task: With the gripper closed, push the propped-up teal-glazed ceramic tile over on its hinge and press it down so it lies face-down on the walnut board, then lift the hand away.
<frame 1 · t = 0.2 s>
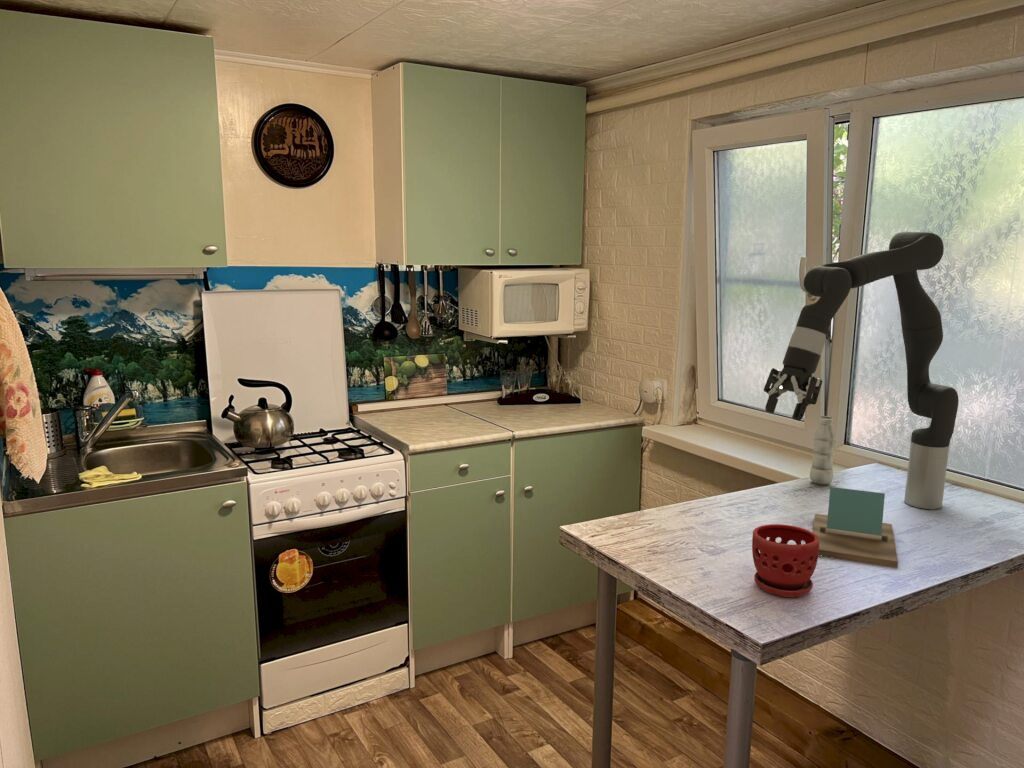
hand: (782, 416, 182), 31 cm above the table, tool tilted 20°, fingers open, 8 cm apart
plastic bottle: (820, 484, 230), on the table
tile: (855, 510, 187), point 7 cm above the table, hinge at 75.0°
board: (852, 541, 187), on the table
plant pot: (781, 587, 164), on the table
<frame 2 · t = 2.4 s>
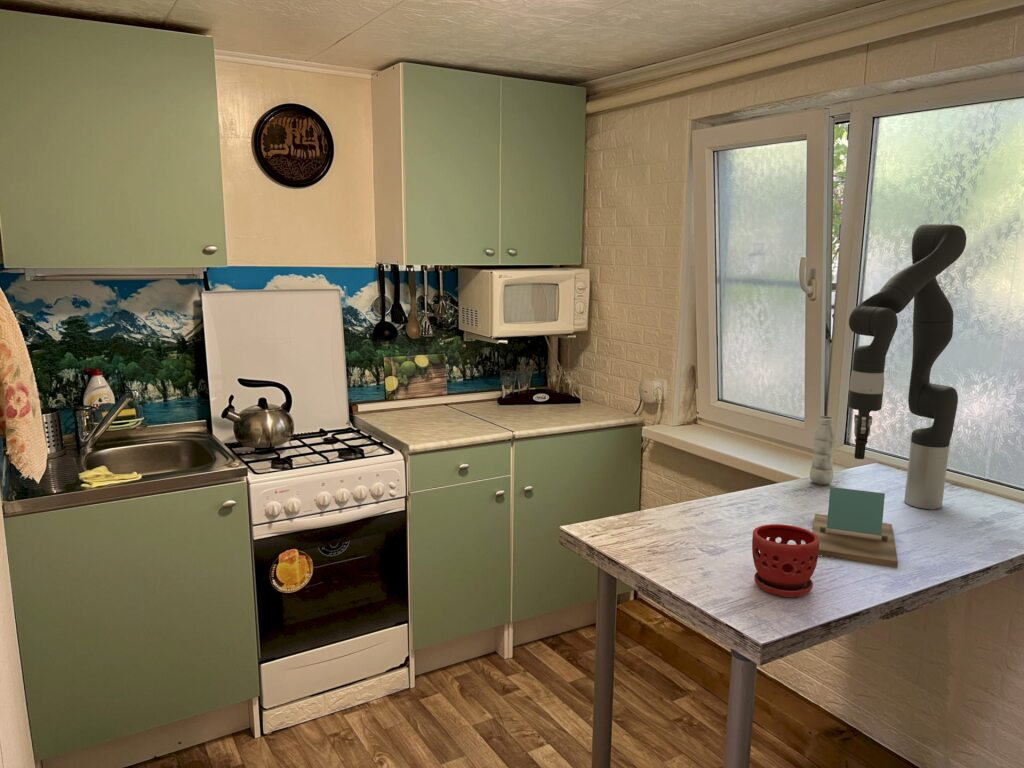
hand: (859, 458, 192), 18 cm above the table, tool pointing down, fingers closed
nothing on the table moved.
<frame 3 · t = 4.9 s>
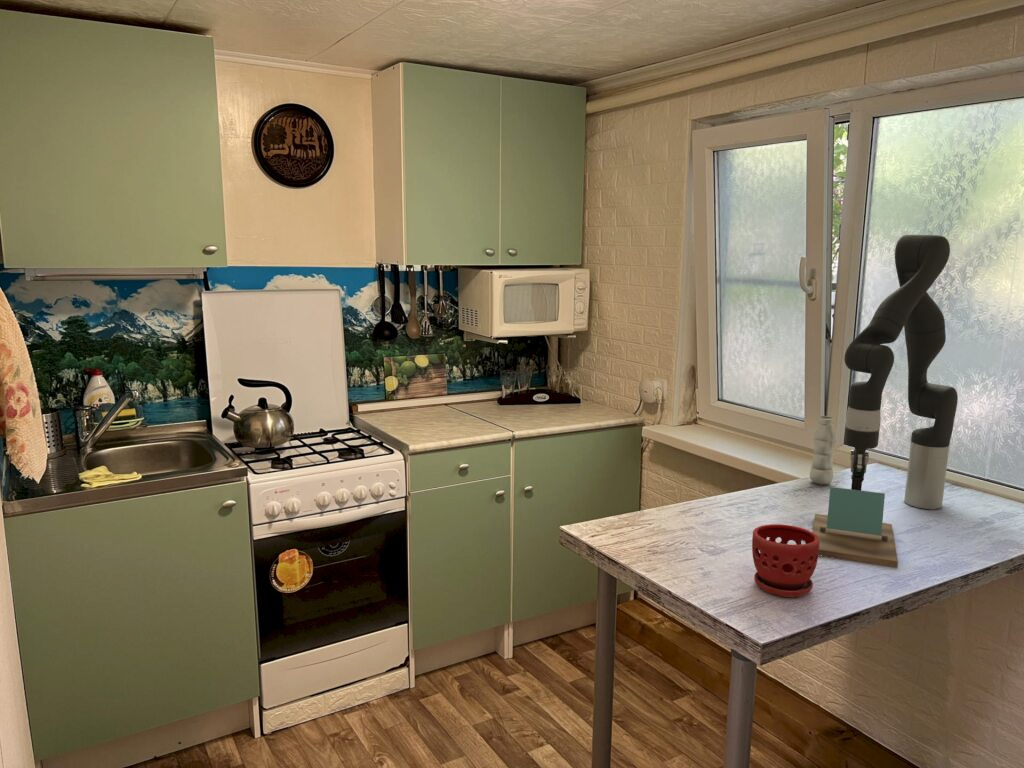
hand: (855, 494, 190), 10 cm above the table, tool pointing down, fingers closed
tile: (855, 510, 187), point 7 cm above the table, hinge at 75.8°, touching gripper
everything else where it was.
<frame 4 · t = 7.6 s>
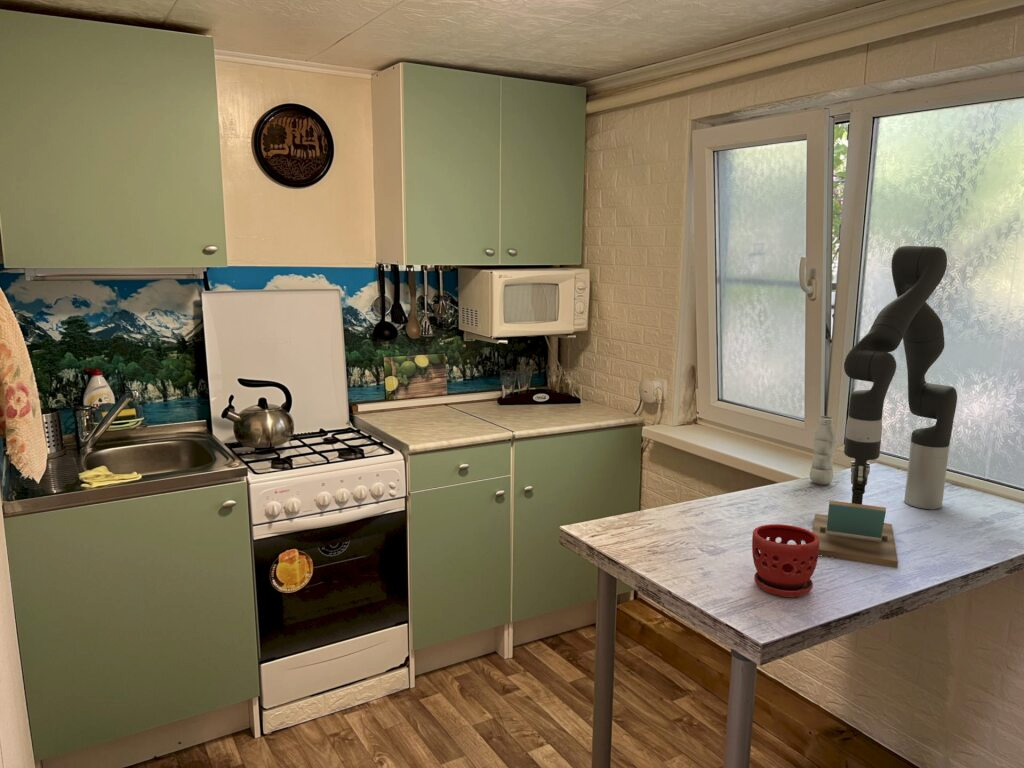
hand: (856, 507, 182), 10 cm above the table, tool pointing down, fingers closed
tile: (855, 519, 183), point 7 cm above the table, hinge at 121.9°, touching gripper
everything else where it was.
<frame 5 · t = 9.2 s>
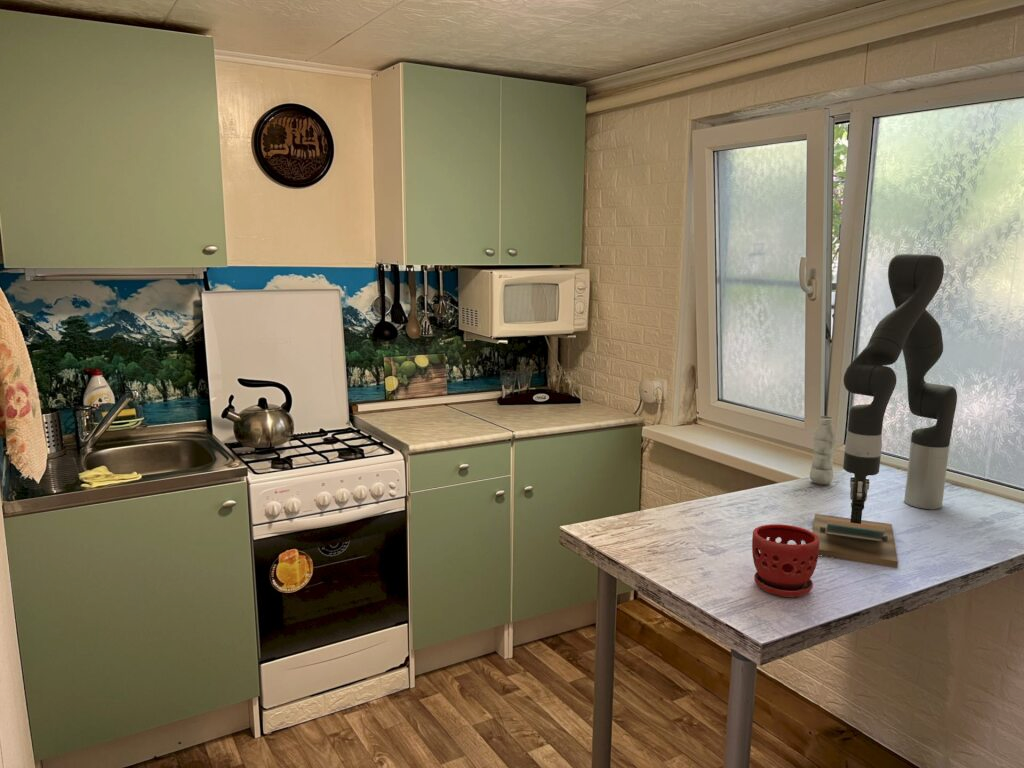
hand: (855, 523, 180), 7 cm above the table, tool pointing down, fingers closed
tile: (854, 529, 182), point 5 cm above the table, hinge at 150.0°, touching gripper
everything else where it was.
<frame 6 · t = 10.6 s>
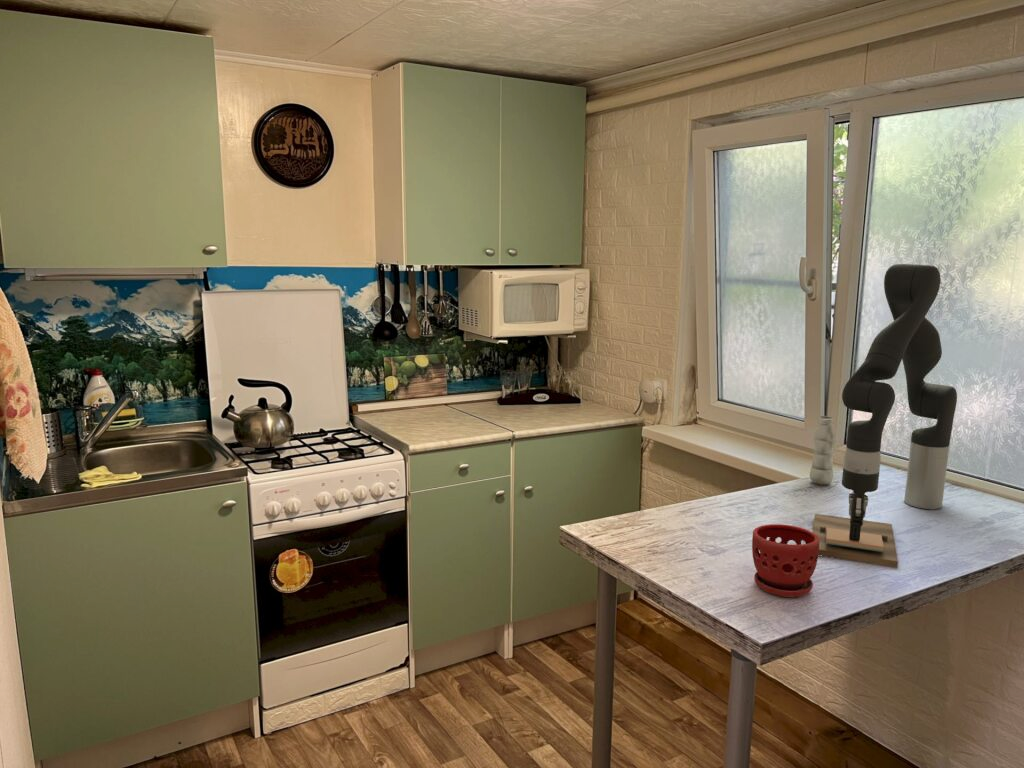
hand: (854, 539, 179), 4 cm above the table, tool pointing down, fingers closed
tile: (853, 539, 182), point 3 cm above the table, hinge at 174.1°, touching gripper
everything else where it was.
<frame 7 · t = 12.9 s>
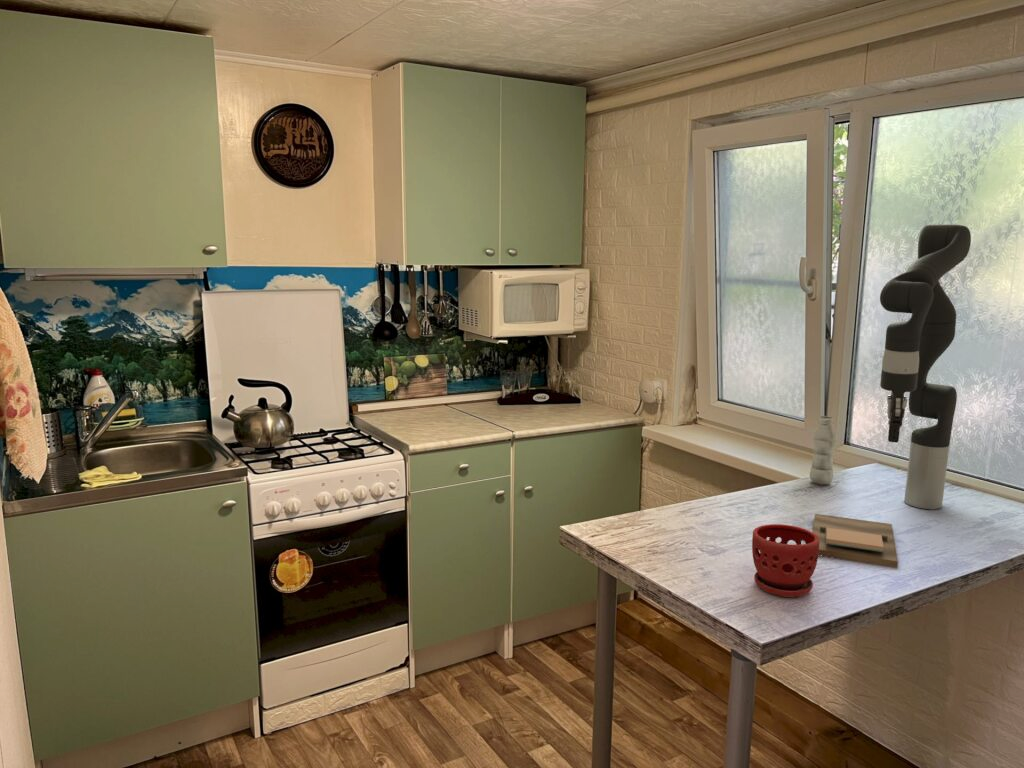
hand: (893, 441, 182), 25 cm above the table, tool pointing down, fingers closed
tile: (853, 539, 182), point 3 cm above the table, hinge at 174.2°
everything else where it was.
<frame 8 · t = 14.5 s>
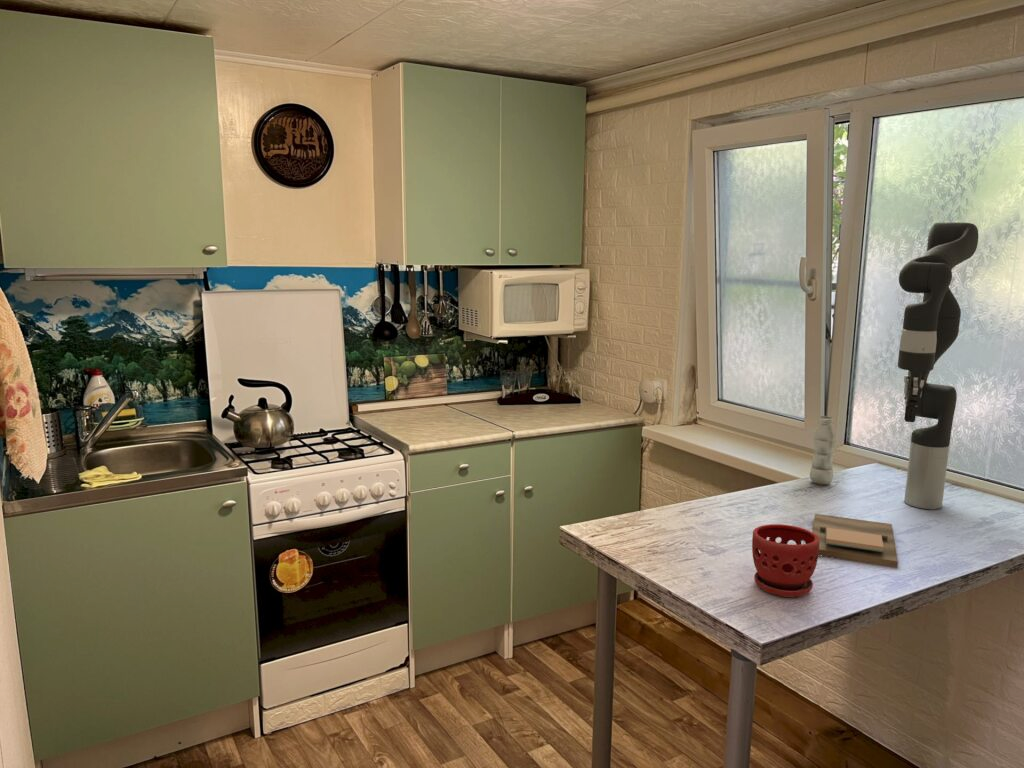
hand: (909, 421, 185), 29 cm above the table, tool pointing down, fingers closed
nothing on the table moved.
at the end: tile at +174° (first picture: +75°) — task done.
